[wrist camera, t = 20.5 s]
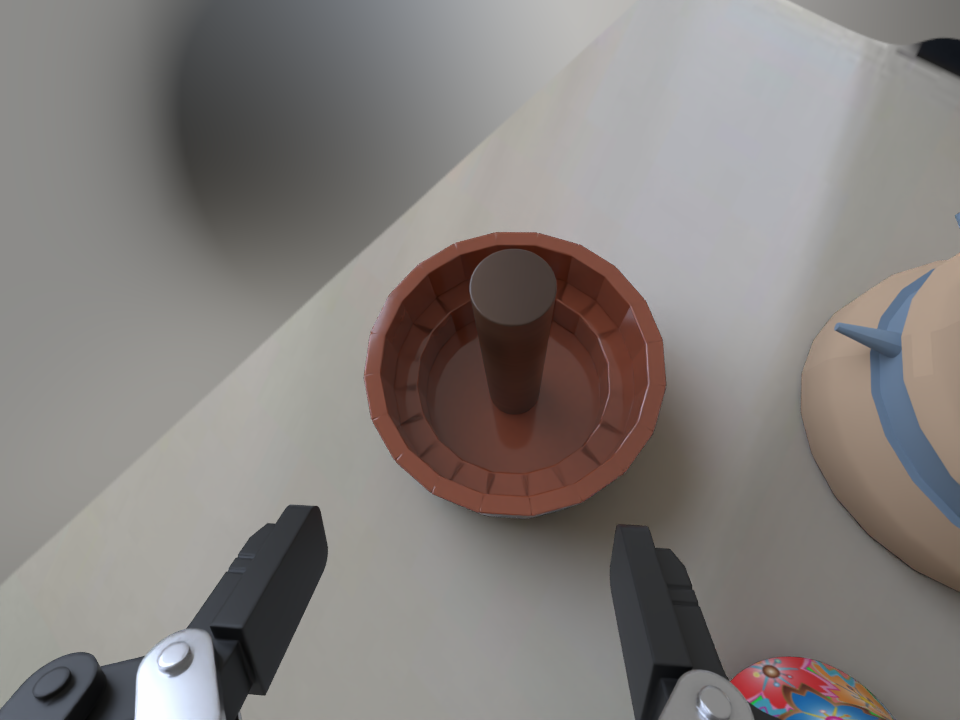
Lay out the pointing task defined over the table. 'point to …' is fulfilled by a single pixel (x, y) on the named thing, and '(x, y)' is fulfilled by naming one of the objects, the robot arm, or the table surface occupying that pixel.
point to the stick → (513, 324)
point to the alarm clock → (894, 414)
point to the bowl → (563, 393)
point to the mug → (807, 691)
